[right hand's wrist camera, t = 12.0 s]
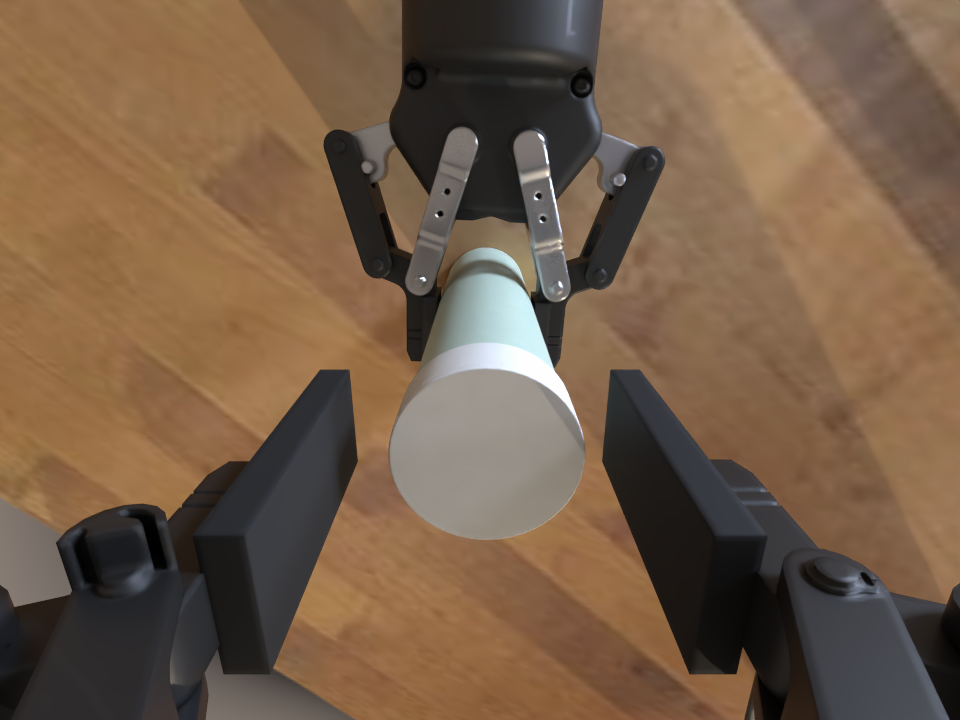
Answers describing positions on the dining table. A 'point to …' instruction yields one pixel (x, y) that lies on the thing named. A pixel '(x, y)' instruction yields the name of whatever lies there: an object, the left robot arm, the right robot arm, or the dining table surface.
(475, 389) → the lid
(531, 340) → the green bottle
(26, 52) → the dining table surface
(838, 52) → the dining table surface
